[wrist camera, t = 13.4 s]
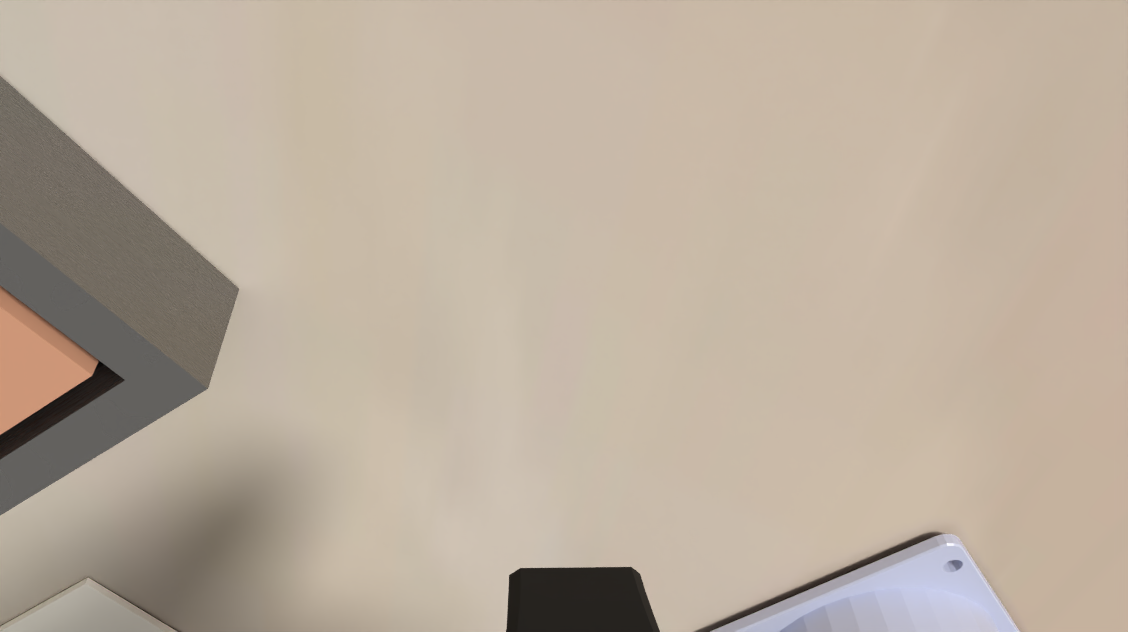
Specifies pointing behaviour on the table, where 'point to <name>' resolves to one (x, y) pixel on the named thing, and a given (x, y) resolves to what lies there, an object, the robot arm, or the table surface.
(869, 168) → the table surface
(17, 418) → the button
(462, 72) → the table surface
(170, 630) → the paper sheet
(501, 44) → the table surface
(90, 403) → the button housing
